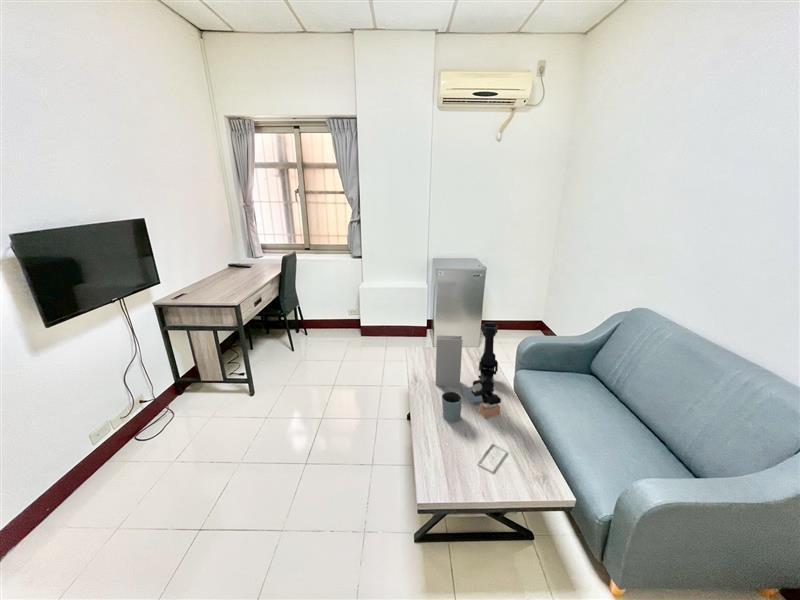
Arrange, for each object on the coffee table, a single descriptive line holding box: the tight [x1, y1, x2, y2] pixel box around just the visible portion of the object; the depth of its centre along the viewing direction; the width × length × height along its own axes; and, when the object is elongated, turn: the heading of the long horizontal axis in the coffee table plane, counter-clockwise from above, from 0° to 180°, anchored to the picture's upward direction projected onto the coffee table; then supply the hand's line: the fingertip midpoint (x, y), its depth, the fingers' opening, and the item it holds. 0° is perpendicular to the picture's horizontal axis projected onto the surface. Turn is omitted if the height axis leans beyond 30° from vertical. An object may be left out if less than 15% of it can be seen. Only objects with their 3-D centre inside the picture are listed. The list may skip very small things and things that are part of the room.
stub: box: [478, 403, 502, 419], centre depth 170 cm, size 5×9×5 cm, turn 106°
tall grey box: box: [435, 334, 463, 387], centre depth 193 cm, size 14×6×30 cm, turn 84°
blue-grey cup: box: [441, 390, 463, 423], centre depth 167 cm, size 10×10×12 cm
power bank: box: [476, 442, 508, 474], centre depth 142 cm, size 7×1×15 cm
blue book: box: [460, 387, 483, 405], centre depth 185 cm, size 14×9×1 cm, turn 16°
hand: (485, 405), depth 174 cm, fingers closed
